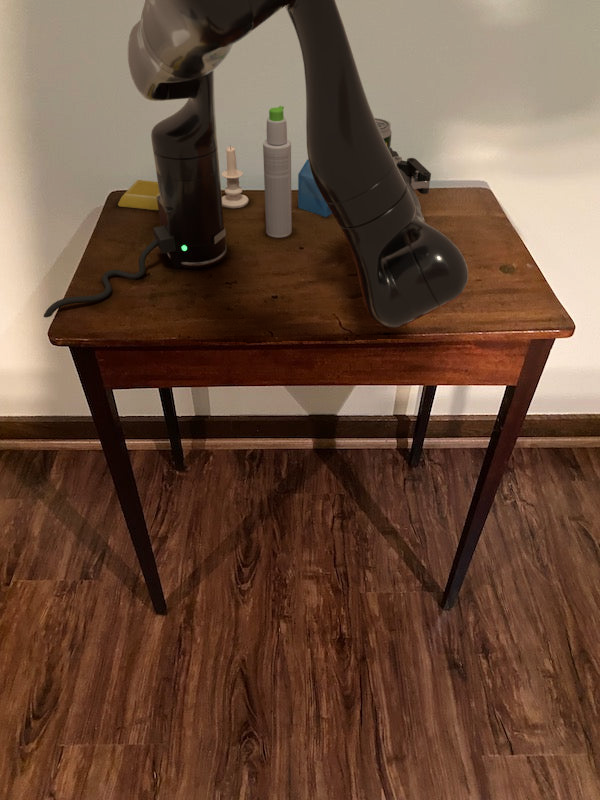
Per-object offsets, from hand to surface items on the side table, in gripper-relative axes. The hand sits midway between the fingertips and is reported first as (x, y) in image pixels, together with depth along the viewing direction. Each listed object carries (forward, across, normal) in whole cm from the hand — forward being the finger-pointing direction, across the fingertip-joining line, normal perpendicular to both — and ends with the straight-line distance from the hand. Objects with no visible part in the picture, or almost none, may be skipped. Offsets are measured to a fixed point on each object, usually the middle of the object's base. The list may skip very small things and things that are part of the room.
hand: (366, 155), depth 91 cm
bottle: (+14, +12, +18) cm, 26 cm away
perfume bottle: (+23, +4, +18) cm, 30 cm away
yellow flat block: (+28, +35, +16) cm, 48 cm away
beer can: (-3, 0, +7) cm, 8 cm away
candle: (+26, +19, +18) cm, 37 cm away
